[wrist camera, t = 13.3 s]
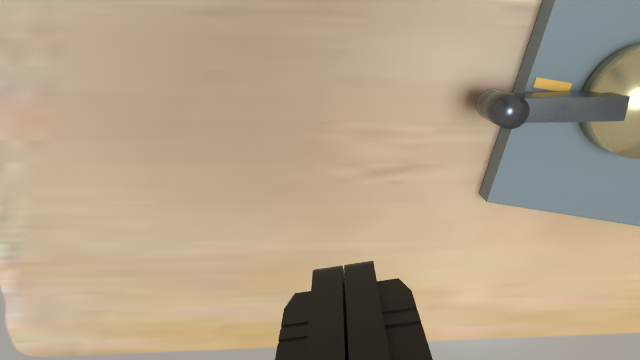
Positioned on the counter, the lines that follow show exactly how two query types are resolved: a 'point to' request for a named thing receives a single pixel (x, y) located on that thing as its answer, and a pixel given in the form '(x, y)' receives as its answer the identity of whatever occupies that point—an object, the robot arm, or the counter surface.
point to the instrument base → (567, 137)
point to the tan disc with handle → (582, 105)
